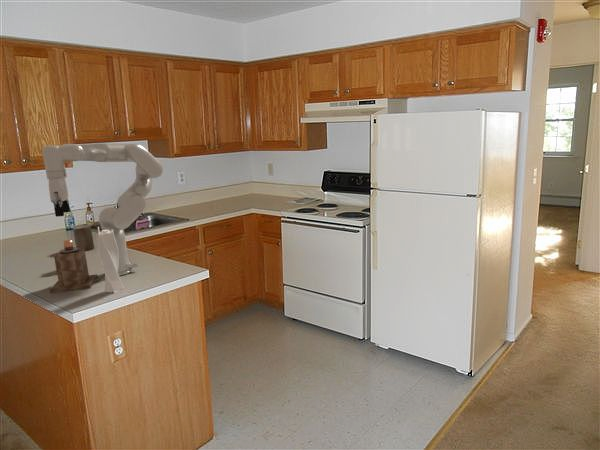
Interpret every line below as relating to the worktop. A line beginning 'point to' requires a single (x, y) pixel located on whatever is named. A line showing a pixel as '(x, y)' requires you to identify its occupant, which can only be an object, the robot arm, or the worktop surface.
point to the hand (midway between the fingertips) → (63, 214)
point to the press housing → (72, 271)
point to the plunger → (68, 247)
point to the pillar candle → (83, 237)
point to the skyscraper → (109, 260)
